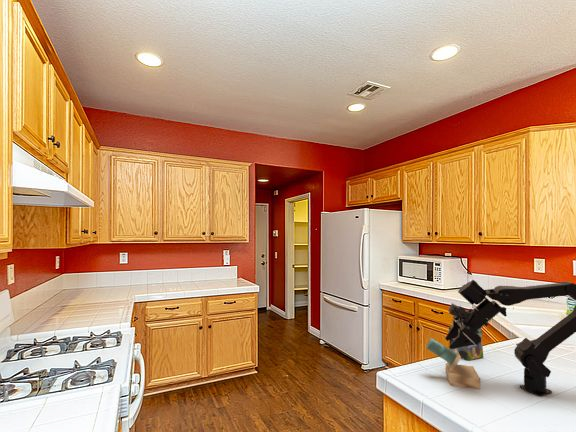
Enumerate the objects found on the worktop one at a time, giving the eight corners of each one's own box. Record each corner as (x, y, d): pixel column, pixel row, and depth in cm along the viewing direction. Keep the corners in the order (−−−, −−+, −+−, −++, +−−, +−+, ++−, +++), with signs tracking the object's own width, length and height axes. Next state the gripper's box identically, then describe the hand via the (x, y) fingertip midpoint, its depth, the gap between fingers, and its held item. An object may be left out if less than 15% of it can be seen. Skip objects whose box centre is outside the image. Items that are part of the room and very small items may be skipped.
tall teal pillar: (457, 350, 118) (431, 334, 121) (461, 357, 111) (433, 340, 114) (448, 363, 119) (423, 347, 122) (451, 372, 112) (424, 354, 115)
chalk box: (483, 358, 134) (483, 321, 135) (467, 361, 131) (466, 323, 132) (464, 350, 143) (463, 316, 144) (448, 353, 140) (447, 318, 140)
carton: (473, 376, 117) (473, 366, 118) (480, 389, 108) (479, 378, 108) (445, 372, 120) (445, 363, 120) (450, 384, 111) (449, 374, 111)
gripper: (458, 292, 124) (427, 319, 127) (468, 302, 106) (432, 333, 109) (482, 314, 121) (450, 342, 124) (497, 328, 103) (459, 360, 106)
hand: (447, 343), depth 116 cm, fingers open, 9 cm apart
